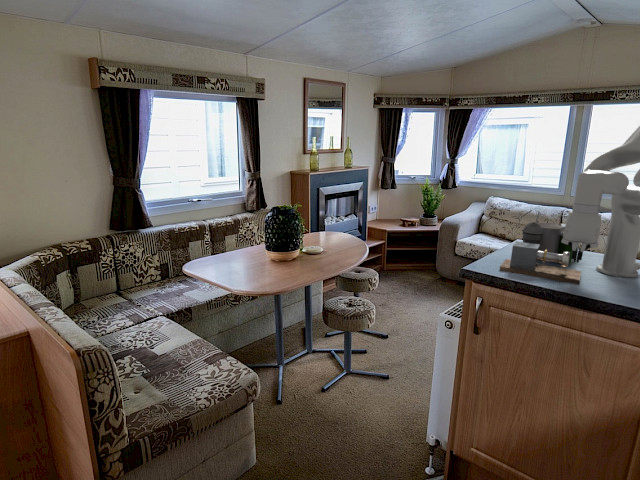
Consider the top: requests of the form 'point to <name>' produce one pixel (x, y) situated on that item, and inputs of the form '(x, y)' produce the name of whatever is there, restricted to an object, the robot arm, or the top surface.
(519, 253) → the machine model
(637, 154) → the robot arm
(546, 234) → the pillar candle
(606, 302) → the top surface
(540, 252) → the shaft
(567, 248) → the beer can
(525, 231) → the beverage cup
